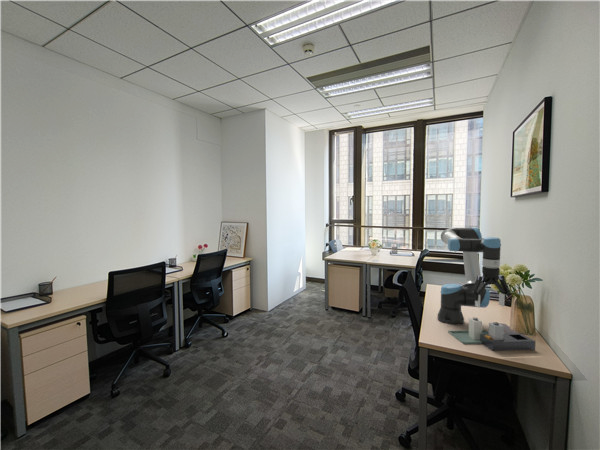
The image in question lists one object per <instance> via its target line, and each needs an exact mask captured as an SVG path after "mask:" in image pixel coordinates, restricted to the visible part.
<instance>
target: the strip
mask: <svg viewBox="0 0 600 450" xmlns="http://www.w3.org/2000/svg"><path fill="white" fill-rule="evenodd" d="M480 341H482V344H481V345H483V346H485V347H486V348H487V349H489V350H490V351H492V352H498V351H499V352H500V351H502V352H505V351H507V352H509V351H536V340H534V339H532V338H530V337H529V336H527V335H525V334H523V333H521V332H517V333H503V340H493V339H492V337H490V336H489V334H480Z"/></svg>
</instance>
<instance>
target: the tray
mask: <svg viewBox="0 0 600 450" xmlns="http://www.w3.org/2000/svg"><path fill="white" fill-rule="evenodd" d="M448 334H450V335H451V336H452V337H454V338H455V339H456V340H457V341H459V342H460V343H461V344H463V345H483V344H482V341H480V339H472V338H471V337H470V336H469V329H467V330H466V329H464V330H462V329H461V330H459V329H457V330H448ZM482 334H489V330H486V329H482Z"/></svg>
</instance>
